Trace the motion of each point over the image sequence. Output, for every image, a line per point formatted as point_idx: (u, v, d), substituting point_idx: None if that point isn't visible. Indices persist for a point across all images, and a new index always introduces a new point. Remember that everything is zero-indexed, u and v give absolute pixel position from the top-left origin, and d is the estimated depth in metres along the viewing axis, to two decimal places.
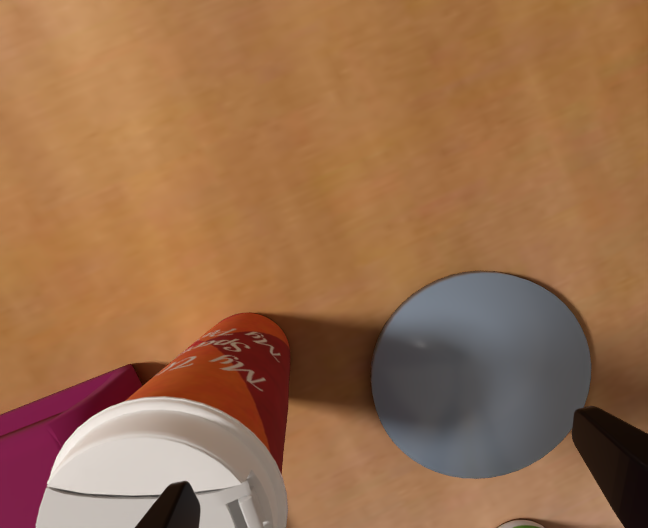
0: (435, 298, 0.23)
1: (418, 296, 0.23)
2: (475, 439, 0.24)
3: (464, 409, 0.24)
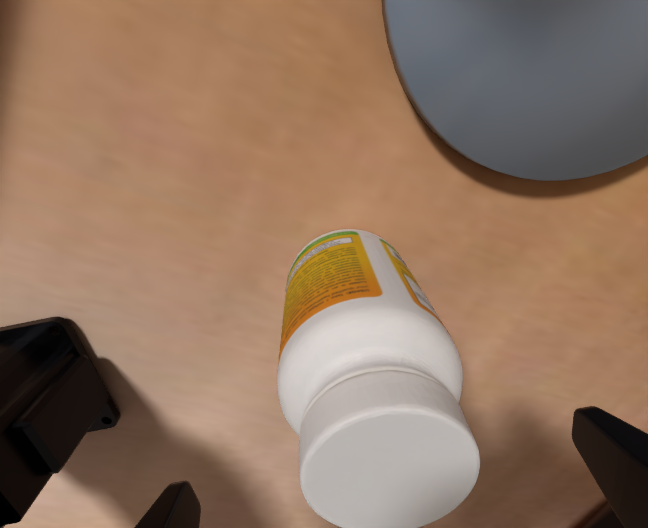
0: None
1: None
2: (490, 50, 0.12)
3: None
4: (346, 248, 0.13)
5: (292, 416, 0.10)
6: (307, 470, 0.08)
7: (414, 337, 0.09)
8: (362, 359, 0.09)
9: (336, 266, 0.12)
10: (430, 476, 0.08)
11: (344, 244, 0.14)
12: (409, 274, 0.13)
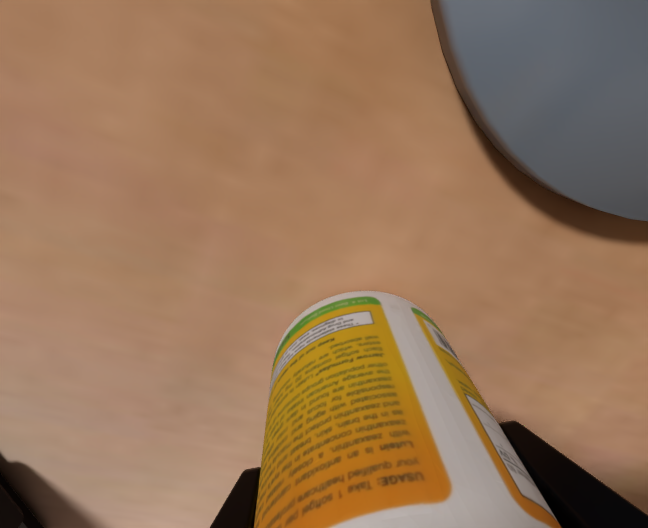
0: None
1: None
2: (609, 14, 0.07)
3: None
4: (365, 338, 0.08)
5: None
6: None
7: None
8: None
9: (350, 386, 0.07)
10: None
11: (361, 328, 0.09)
12: (470, 385, 0.08)
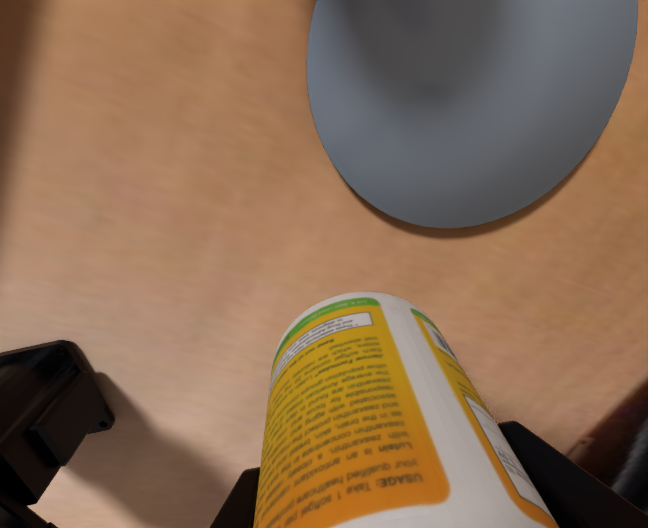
0: None
1: None
2: (391, 135, 0.16)
3: (420, 84, 0.16)
4: (364, 339, 0.08)
5: None
6: None
7: None
8: None
9: (350, 388, 0.07)
10: None
11: (360, 329, 0.09)
12: (469, 386, 0.08)
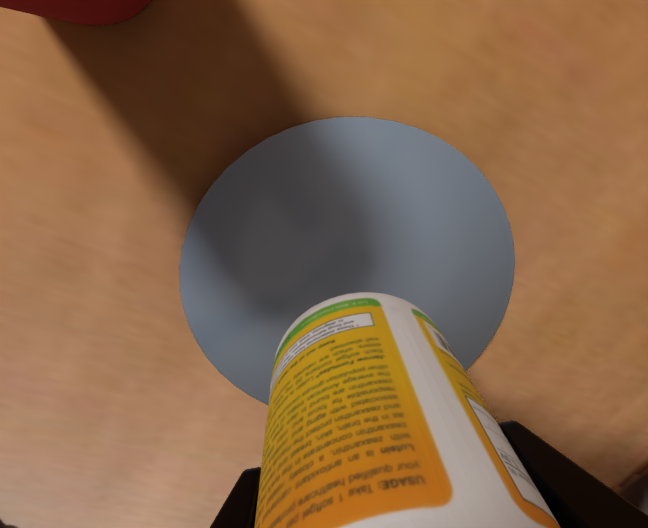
0: (413, 148, 0.13)
1: (397, 122, 0.13)
2: (274, 347, 0.16)
3: (298, 307, 0.16)
4: (365, 340, 0.08)
5: None
6: None
7: None
8: None
9: (351, 389, 0.07)
10: None
11: (361, 329, 0.09)
12: (471, 387, 0.08)
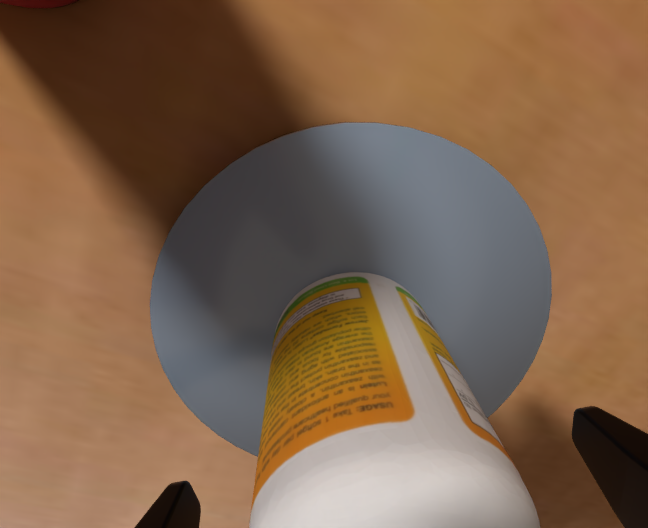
0: (433, 161, 0.11)
1: (415, 129, 0.10)
2: None
3: None
4: (353, 309, 0.10)
5: None
6: None
7: (474, 506, 0.05)
8: None
9: (339, 345, 0.08)
10: None
11: (350, 301, 0.10)
12: (442, 348, 0.09)
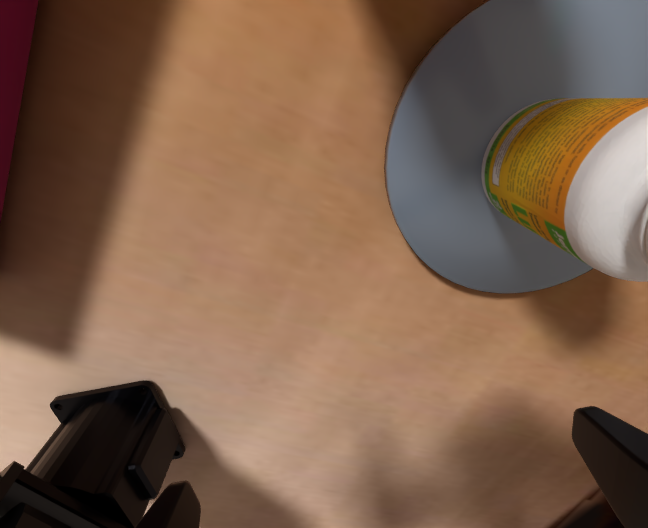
0: (627, 5, 0.15)
1: None
2: (461, 214, 0.18)
3: None
4: (584, 99, 0.14)
5: (602, 219, 0.10)
6: None
7: None
8: None
9: (597, 102, 0.12)
10: None
11: (575, 99, 0.14)
12: None
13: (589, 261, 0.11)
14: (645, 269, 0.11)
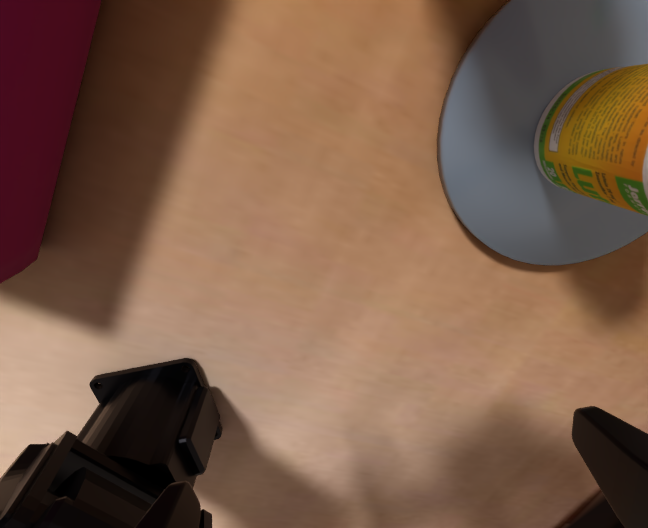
0: None
1: None
2: (511, 185, 0.18)
3: None
4: (645, 64, 0.14)
5: None
6: None
7: None
8: None
9: None
10: None
11: (635, 65, 0.15)
12: None
13: None
14: None
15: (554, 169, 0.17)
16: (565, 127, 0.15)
